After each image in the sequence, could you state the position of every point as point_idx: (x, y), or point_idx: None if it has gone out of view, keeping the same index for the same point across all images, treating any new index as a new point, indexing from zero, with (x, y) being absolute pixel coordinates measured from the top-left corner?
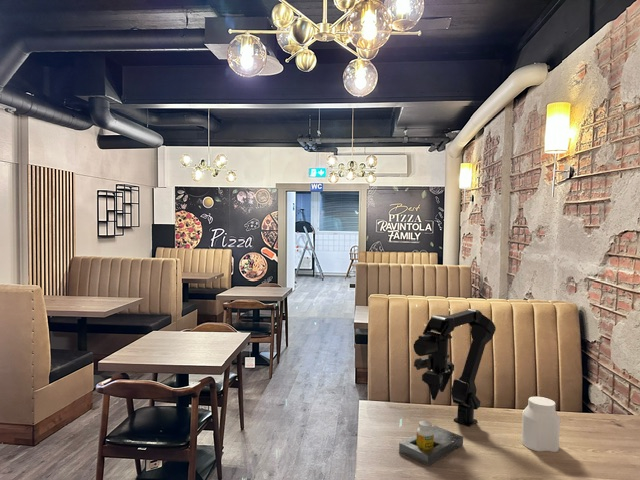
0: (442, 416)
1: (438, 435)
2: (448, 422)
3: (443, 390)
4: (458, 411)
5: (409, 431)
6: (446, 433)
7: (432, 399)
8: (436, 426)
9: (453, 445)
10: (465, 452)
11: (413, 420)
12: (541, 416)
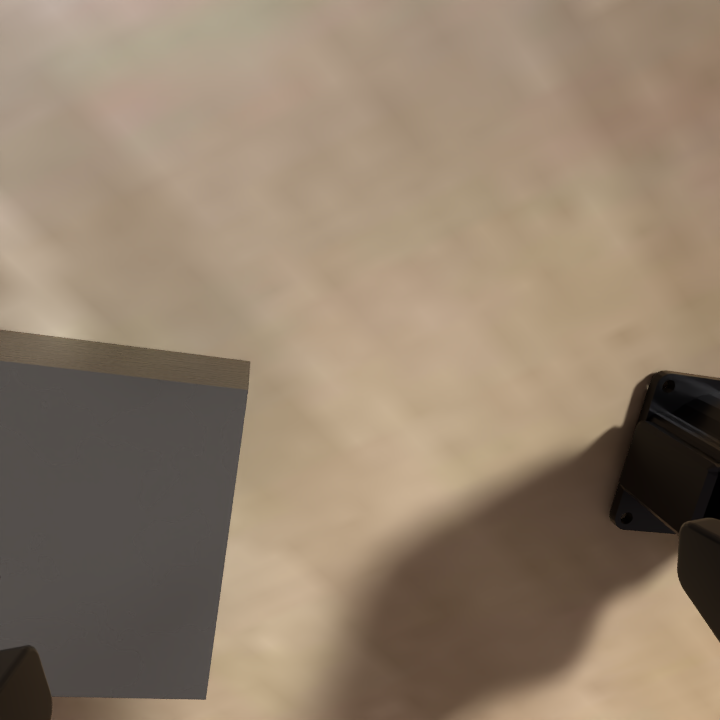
0: (698, 240)
1: (31, 532)
2: (591, 349)
3: (704, 618)
4: (701, 477)
5: (98, 115)
6: (148, 567)
7: (8, 652)
8: (234, 415)
9: None
10: None
11: (412, 12)
12: None
